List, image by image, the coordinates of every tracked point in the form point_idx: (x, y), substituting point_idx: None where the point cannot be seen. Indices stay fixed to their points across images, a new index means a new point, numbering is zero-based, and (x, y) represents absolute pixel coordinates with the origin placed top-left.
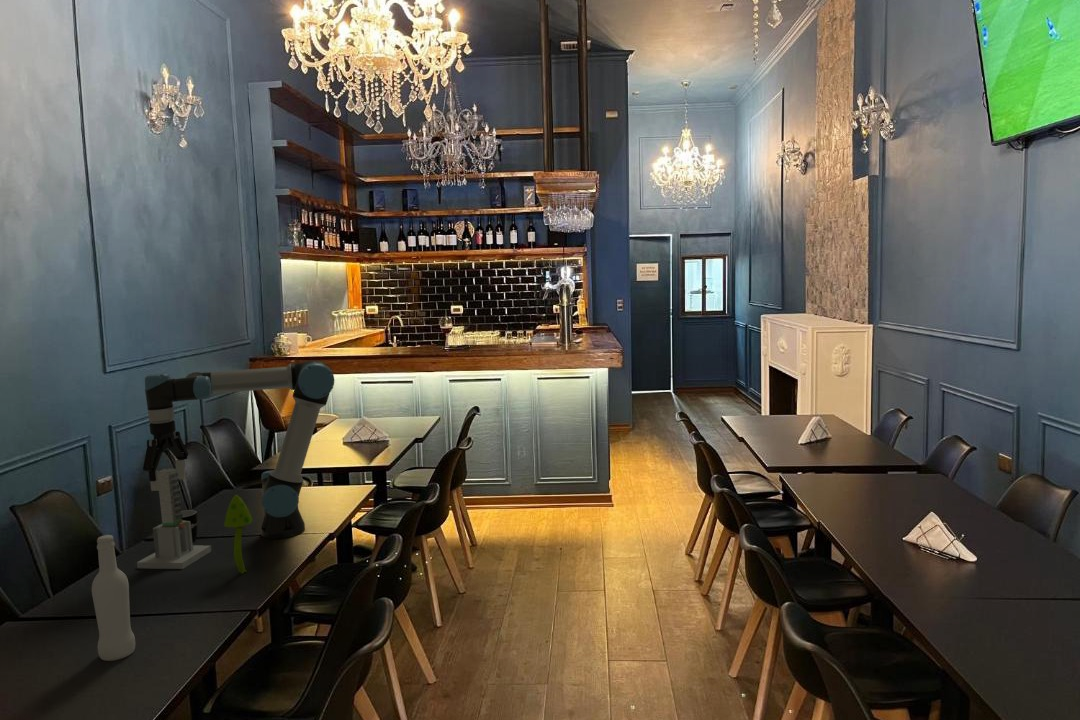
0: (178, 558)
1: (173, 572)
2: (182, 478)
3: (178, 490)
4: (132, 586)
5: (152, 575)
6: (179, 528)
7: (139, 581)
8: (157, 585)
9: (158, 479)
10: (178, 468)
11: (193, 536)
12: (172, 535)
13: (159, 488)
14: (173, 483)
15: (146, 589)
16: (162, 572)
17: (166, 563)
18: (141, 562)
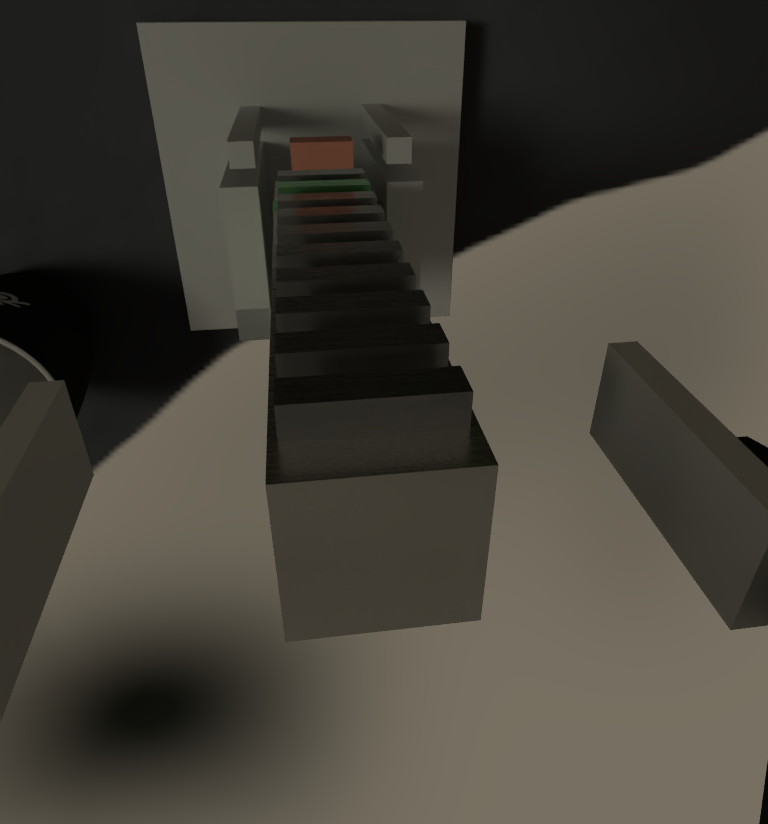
0: (389, 107)
1: (506, 48)
2: (70, 415)
3: (297, 285)
4: (677, 157)
5: (541, 152)
6: (327, 172)
7: (615, 167)
8: (691, 11)
9: (700, 421)
10: (37, 560)
11: (19, 275)
12: (408, 169)
13: (634, 354)
14: (405, 326)
15: (736, 41)
16: (502, 122)
17: (458, 138)
18: (450, 292)
